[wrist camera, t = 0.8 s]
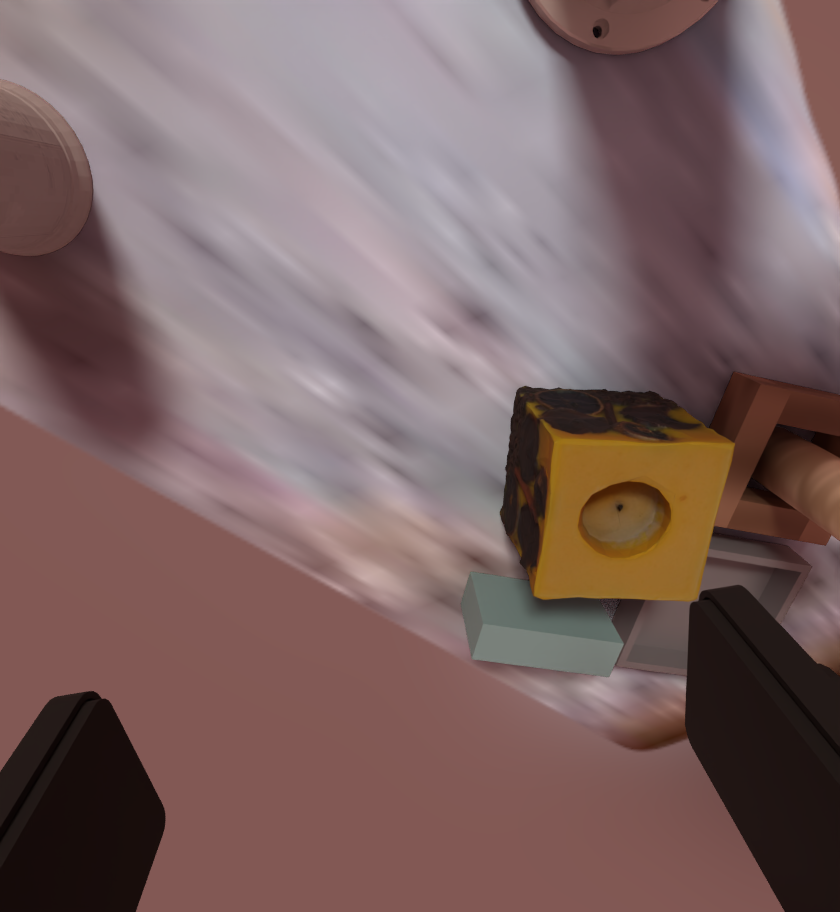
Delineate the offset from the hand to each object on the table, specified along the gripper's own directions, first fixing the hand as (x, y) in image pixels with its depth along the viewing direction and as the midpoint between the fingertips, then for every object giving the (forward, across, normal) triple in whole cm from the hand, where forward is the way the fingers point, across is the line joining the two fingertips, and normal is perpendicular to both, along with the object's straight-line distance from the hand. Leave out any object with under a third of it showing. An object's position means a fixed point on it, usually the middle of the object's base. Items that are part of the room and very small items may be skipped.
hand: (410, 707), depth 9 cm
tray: (+29, -20, +24) cm, 43 cm away
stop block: (+29, -7, +22) cm, 37 cm away
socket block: (+30, -25, +13) cm, 41 cm away
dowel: (+30, -25, +13) cm, 41 cm away
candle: (+30, -11, +11) cm, 34 cm away
